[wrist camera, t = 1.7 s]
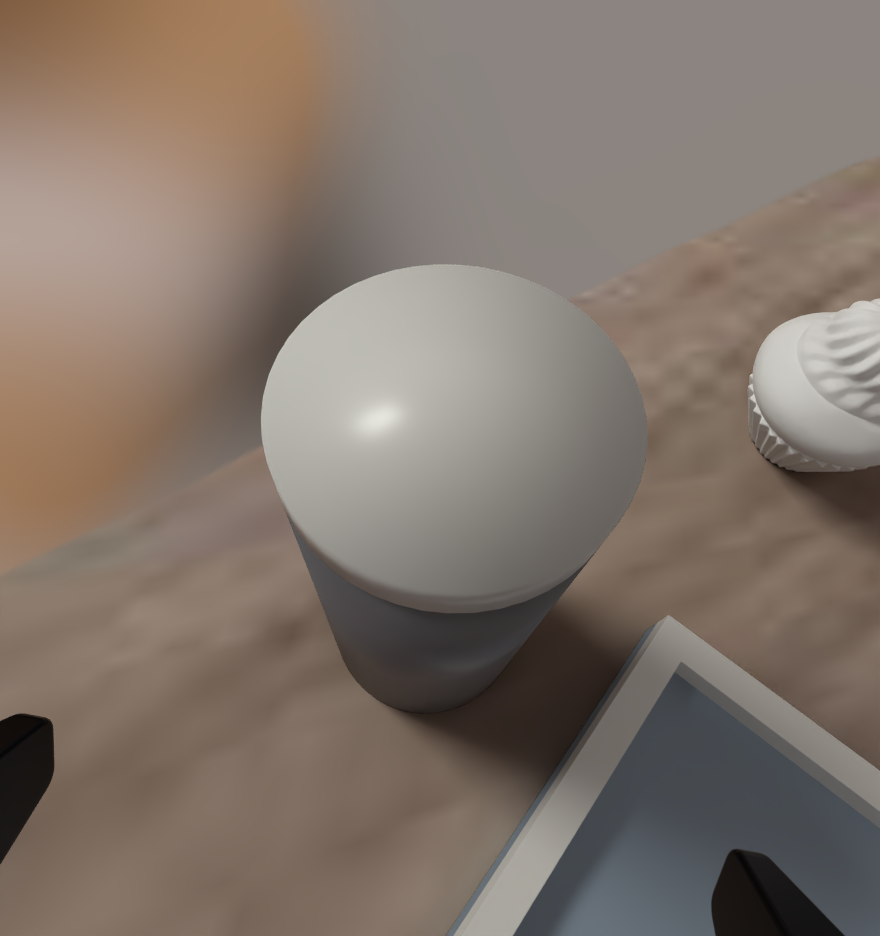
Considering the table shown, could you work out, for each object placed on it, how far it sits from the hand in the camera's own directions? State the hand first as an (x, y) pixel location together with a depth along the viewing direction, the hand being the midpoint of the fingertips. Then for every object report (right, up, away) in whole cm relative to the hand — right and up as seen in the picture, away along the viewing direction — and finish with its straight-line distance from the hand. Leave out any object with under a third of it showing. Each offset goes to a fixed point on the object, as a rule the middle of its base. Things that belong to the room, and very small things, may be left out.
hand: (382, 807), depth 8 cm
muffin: (+15, +6, +18) cm, 24 cm away
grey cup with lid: (0, -1, +13) cm, 13 cm away
